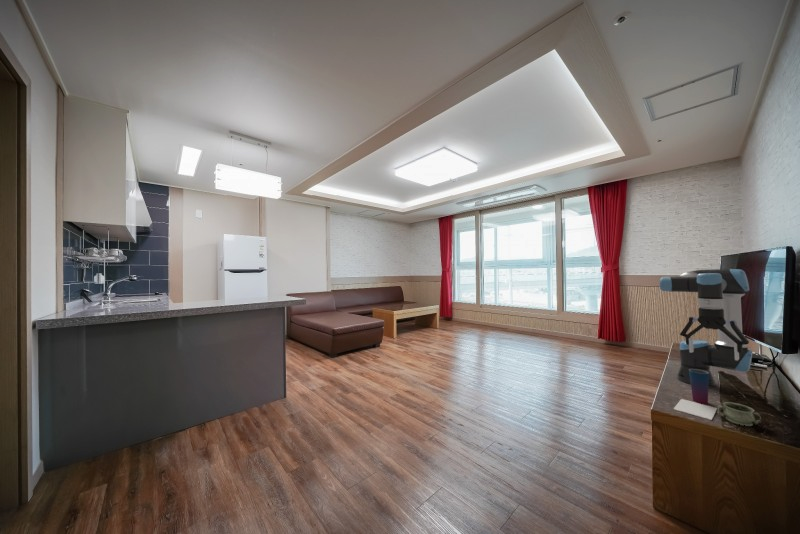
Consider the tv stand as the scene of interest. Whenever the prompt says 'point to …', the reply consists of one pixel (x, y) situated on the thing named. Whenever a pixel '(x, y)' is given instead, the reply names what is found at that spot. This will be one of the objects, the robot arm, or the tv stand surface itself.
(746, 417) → the vessel
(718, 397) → the tv stand surface
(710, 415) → the mat
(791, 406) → the tv stand surface
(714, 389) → the tv stand surface
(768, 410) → the tv stand surface
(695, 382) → the cup
